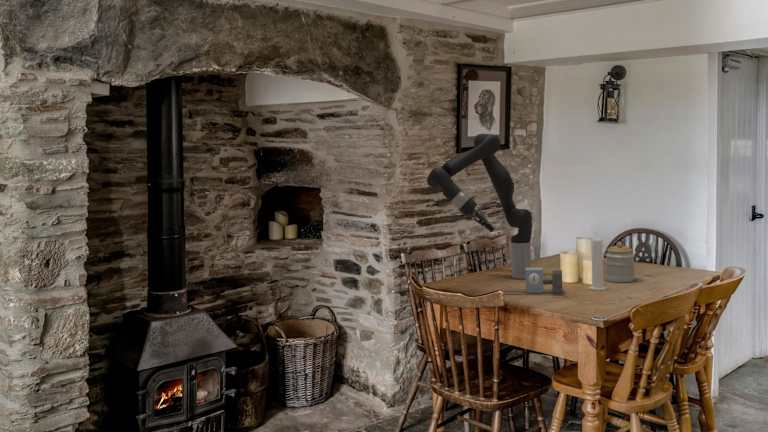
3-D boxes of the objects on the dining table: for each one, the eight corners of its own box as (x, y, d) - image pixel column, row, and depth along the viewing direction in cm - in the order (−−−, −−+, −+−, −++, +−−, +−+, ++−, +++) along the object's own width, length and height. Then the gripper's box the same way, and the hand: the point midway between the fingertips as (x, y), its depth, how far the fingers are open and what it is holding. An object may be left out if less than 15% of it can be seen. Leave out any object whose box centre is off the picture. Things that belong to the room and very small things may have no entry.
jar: (636, 283, 325) (636, 244, 323) (606, 283, 327) (606, 244, 325) (633, 277, 337) (632, 240, 335) (604, 277, 340) (603, 240, 338)
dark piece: (499, 291, 319) (498, 269, 318) (564, 291, 312) (564, 269, 311) (497, 297, 307) (496, 274, 306) (564, 297, 300) (564, 274, 299)
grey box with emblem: (526, 290, 313) (526, 267, 312) (552, 290, 310) (552, 267, 309) (526, 293, 307) (525, 270, 306) (552, 293, 304) (552, 270, 303)
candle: (594, 291, 311) (594, 233, 309) (586, 288, 318) (585, 231, 315) (609, 289, 313) (608, 232, 311) (600, 286, 320) (599, 230, 317)
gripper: (467, 198, 308) (497, 226, 306) (471, 195, 321) (500, 222, 319) (456, 211, 310) (485, 238, 308) (460, 207, 322) (488, 234, 321)
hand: (493, 230), depth 313 cm, fingers closed
